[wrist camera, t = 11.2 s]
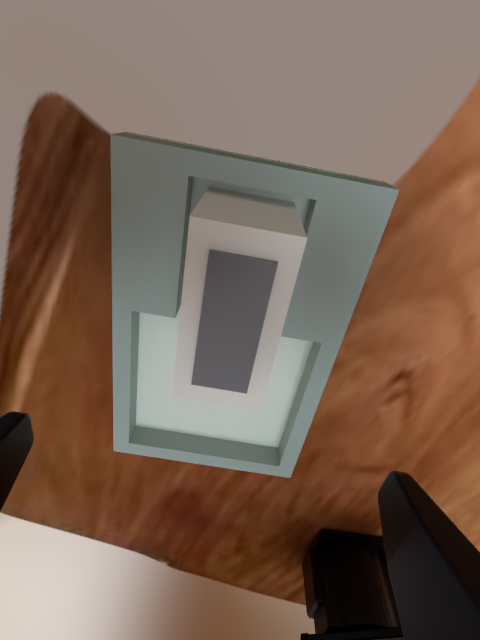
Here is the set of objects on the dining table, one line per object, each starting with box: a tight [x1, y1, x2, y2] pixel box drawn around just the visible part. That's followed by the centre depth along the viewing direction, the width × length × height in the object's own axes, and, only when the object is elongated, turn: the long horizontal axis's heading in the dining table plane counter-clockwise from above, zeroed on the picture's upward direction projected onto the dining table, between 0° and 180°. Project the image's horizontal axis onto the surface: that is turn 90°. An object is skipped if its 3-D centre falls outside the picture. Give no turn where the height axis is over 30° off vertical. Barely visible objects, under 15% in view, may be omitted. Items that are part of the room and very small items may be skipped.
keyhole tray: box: [111, 132, 399, 478], centre depth 20 cm, size 12×19×2 cm, turn 170°
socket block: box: [172, 186, 307, 410], centre depth 16 cm, size 4×8×6 cm, turn 170°
